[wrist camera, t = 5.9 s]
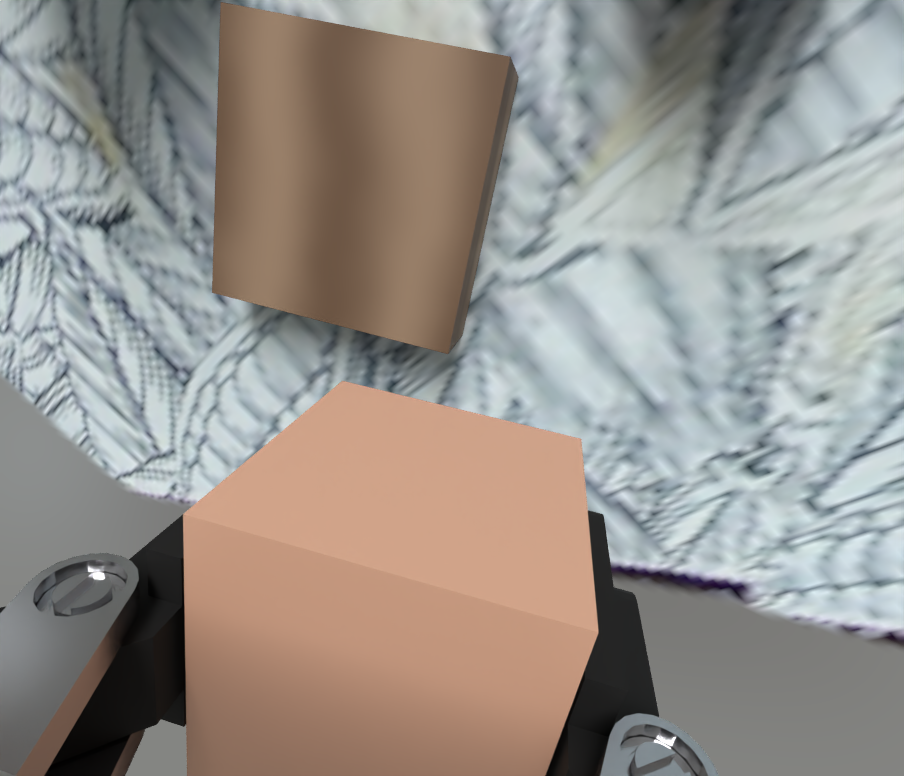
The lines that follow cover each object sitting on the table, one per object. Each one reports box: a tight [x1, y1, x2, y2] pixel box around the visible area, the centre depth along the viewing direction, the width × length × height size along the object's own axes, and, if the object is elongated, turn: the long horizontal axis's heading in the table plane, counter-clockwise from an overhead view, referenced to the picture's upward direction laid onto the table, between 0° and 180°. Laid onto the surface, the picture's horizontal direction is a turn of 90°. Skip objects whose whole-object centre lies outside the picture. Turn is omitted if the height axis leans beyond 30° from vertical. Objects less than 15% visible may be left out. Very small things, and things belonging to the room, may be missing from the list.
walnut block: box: [212, 2, 518, 354], centre depth 24 cm, size 12×12×4 cm
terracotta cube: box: [183, 381, 599, 776], centre depth 9 cm, size 5×5×5 cm
